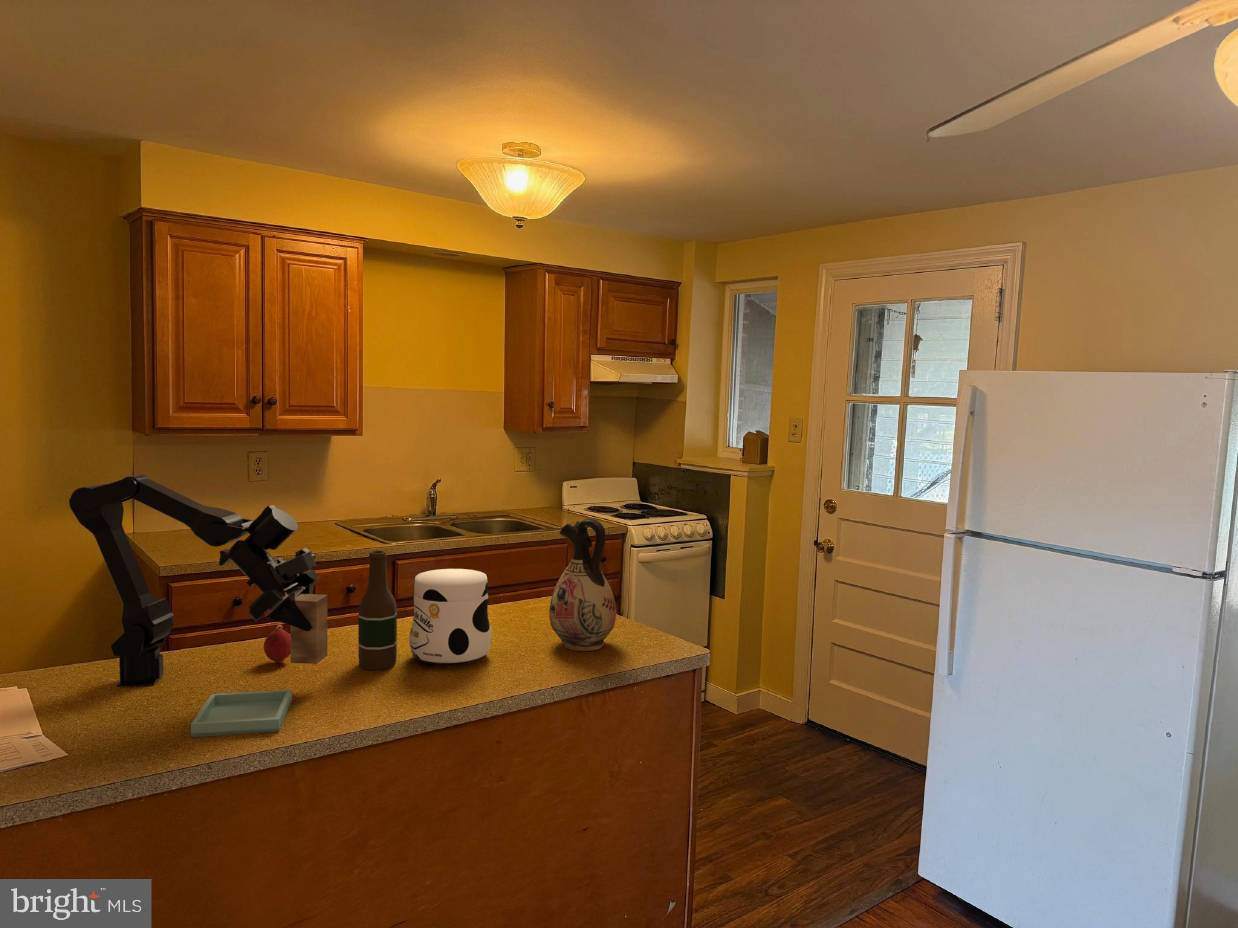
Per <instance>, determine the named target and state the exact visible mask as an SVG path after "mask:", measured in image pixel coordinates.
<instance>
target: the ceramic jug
mask: <svg viewBox="0 0 1238 928" xmlns="http://www.w3.org/2000/svg"><path fill="white" fill-rule="evenodd" d="M589 528H590V529H592V530H593V531H594V533H595V543H594V548H593V553H592V555H591V550H590V548H592V546H593V540H592V539H591V536H590V535H589V532H588V529H589ZM559 535H560V536H562V537H563V538H565V539H568V541H570V542H572V543H573V545H574V554H573V557H571V560H570V561H569V563H568V565H567V566H566V567H565V569H564V571H563V573H562V574H561V576H560V577H559V579H558V581H557V583H556V585H555V587H554V588H553V592H552V595H551V598H550V603H549V604H550V605H549V610H548V613H549V615H548V619H549V623H550V627H551V628H552V630H553V631H554V633H555V634H556V635H557V637H558V638H559V639H560V641H561V642H562V644H563V647H564V648H565V649H568V650H570V651H579V652H587V651H588V652H589V651H598V650H600V649H601V648H603V646H604V645H605V642H604V641H605V640H606V638H607V637H608V636H609V635H610V634H611V632H612V631H613V629H614V627H615V625H616V621H617V619H616V618H617V604H616V599H615V597H614V594H613V590H612V588H611V586H610V583H609V582H608V580H607V579H606V577H605V575H604V573H603V572H602V570H601V568H600V566H601V561H602V557H603V553H604V548H605V545H606V530H605V527H604V526H603V524H602V523H601V522H600V521H598V519H596V518H585V519H583V520H581V521H578V520H577V521H576V522H575V524H574V525H571V523H567V524H565V525H563V526H562V528H561V529H560V531H559Z"/></svg>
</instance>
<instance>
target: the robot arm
mask: <svg viewBox="0 0 1238 928" xmlns="http://www.w3.org/2000/svg"><path fill="white" fill-rule="evenodd" d="M130 500H135V501H137V502H139V503H141V504H143V505H145V506H147V507H149V508H152V509H153V510H155V511H157V512H159V513H161V514H164V515H166V516H168V517H170V518H172V519H173V520H176V521H178V522H180V523H182V524H184V525H185V526H186V527H188V528H189V529H190V531H191V532H192V533H193V535H194V536H196V537H198V538H199V539H200V540H201V541H203V542H204V543H205V544H207V545H208V546H210V547H214V548H215V547H217V548H218V547H221V546H224V545H227V544H230V543H232V542H234V543H233V544H232V545H231V546H230V547H229V548H224V549H222V550H220V551H219V561H218V565H219V566H220V567H221V566H225V565H227V564H230V563H231V562H232V563H233V564H234V565H235V566H236V567H237V568H238V569H239V570H240V571H241V572H242V573H243V575H244V576H246V578H248V580H247V582H246V584H247V585H248V587H252V586H255V587H256V588H257V589H258V590H259V591H260V592H261V594H260V596H258V598H256V599H255V600H254V601H253V602H252V603H251V604H250V605H249V606H248V614H249V616H250V617H251V618H252V619H253V620H254V621H255V622H257V621H259V620H261V619H262V618H263V617H264V616H265V615H266V614H265V613H266V612H268V611H269V612H270V613H269V614H268V615H266V617H265V619H267V620H269V619H270V620H274V621H277V622H280V623H283V624H287V625H290V626H291V625H292V626H294V627H297V628H300V629H302V630H305V631H310V630H311V629H312V626H311V624H310V623H309V621H308V620H307V619H306V617H305V616H304V615H303V614H302V612H301V611H300V610H299V608H298V607H297V606H296V604H295V597H297V596H299V595H301V594H314V592H313V591H314V586H315V585H316V583H315V582H316V581H317V580H319V578H320V575H319V574H318V573H317V572H316V571H315V569H313V568H316V567H317V566H318V565H317V564H316V563H317V562H316V561H315V559H316V558H317V554H315V553H313V550H309V549H308V548H307V547H304V548H301V549H299V550H297V551H295V557H292V558H291V559H289V560H287V561H285V560H284V558H282V557H277V558H274V556H273V555H271V553H269V551H268V550H272V551H275V550H277V549H278V548H280V546H281V545H282V544H284V543H285V541H287V539H289V538H290V537H291V536H292V535H293V534H294V533H295V532H296V531H297V530H298V529H299V528H298V527H299V525H298V523H297V521H296V519H295V518H294V517H293V516H292V515H291V514H289V513H287V512H286V511H285V510H282V509H280V508H277V507H276V506H275V505H274V504H269V505H267V506H266V507H265V508H264V509H263V510H262V511H261V512H260V514H259V515H258V516H257V517H256V518H255V519H254V520H253V519H248V518H243V517H242V515H240V514H239V513H237V512H234V511H233V510H232V511H231V510H228V509H225V508H221V507H214V506H208V505H206V504H205V505H204V504H201V503H200V502H198V501H196V500H193V499H191V498H190V497H187V496H185V495H182V494H181V493H179V492H177V491H175V490H172V489H171V488H168V487H166V486H165V485H162V484H161V483H158V481H154V480H152V479H151V478H150V477H149V476H147V475H145V474H135V475H130V476H129V475H127V476H125V477H123V478H122V479H120V480H116V481H114V482H110V483H100V484H92V485H88V486H84V487H83V486H82V487H77V488H76V489H74V491H73V492H72V493H71V496H70V498H69V499H68V505H69V508H70V511H71V512H72V514H73V515H74V516H75V519H76V520H77V521H78V523H79V524H80V525H81V526H82V527H83V528H85V529H86V530H87V531H88V532H90V533H91V535H93V537H94V539H95V541H96V543H97V546H98V548H99V551H100V553H101V556H102V557H103V560H104V562H105V564H106V567H107V571H108V572H109V574H110V577H111V579H112V581H113V584H114V586H115V589H116V591H117V594H118V596H119V598H120V600H121V603H122V609H121V611H122V612H121V621H120V622H121V625H122V626H121V628H122V630H123V633H122V634H121V635H119V637H118V638H117V639H116V640H115V641H114V642H113V643H112V644H111V645H110V648H111V650H112V654H113V656H114V657H118V658H119V663H118V664H119V681H118V682H117V683H116V687H118V688H121V687H139V686H140V687H143V686H153V685H155V684H157V682H158V681H159V680H160V679H161V677H162V676H163V675H164V655H163V654H162V653H161V647H160V645H163V644H165V641H166V639H167V636H169V634H171V632H172V629H173V627H174V620H173V618H174V617H175V614H174V613H173V612H172V611H171V609H170V605H169V601H168V599H167V598H166V597H163V598H161V599H158V598H157V597H155V595H153V594H152V593H151V592H150V589H149V586H148V584H147V582H146V579H145V577H144V575H143V573H142V570H141V568H140V565H139V563H138V560H137V558H136V555H135V553H134V551H133V549H132V546H131V544H130V541H129V539H128V537H127V534H126V532H125V528H124V526H123V518H124V511H125V509H124V505H123V503H125V502H127V501H128V502H129V501H130ZM246 535H248V536H247V537H246V538H245V539H244V540H243V539H240V538H242V537H244V536H246Z"/></svg>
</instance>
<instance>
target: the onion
mask: <svg viewBox="0 0 1238 928" xmlns="http://www.w3.org/2000/svg"><path fill="white" fill-rule="evenodd" d="M283 628H284V627H283V625H282V624H279V625H277V626H276V628H275V629H274V630H272V631H271V632H270V633H269V634H268V635H267V637H266V638H265V640H264V642H263V651H264V654H265V656H266V657H267V658H268V659H270V660H271V661H272V662H274V663H277V664H281V663H283V662H285V660H286V659H287V658H289V657H290V656H291V633H289V632H288V631H287V630H285V629H283Z"/></svg>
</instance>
